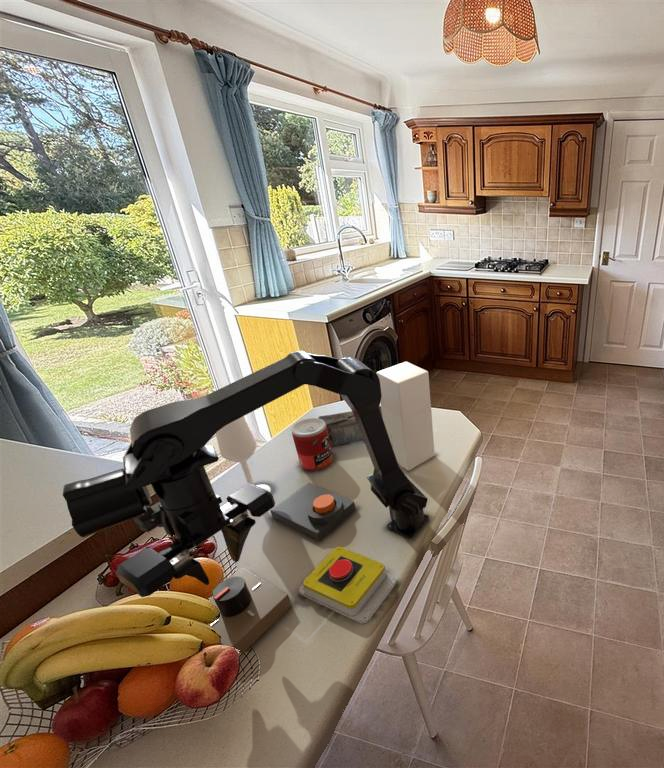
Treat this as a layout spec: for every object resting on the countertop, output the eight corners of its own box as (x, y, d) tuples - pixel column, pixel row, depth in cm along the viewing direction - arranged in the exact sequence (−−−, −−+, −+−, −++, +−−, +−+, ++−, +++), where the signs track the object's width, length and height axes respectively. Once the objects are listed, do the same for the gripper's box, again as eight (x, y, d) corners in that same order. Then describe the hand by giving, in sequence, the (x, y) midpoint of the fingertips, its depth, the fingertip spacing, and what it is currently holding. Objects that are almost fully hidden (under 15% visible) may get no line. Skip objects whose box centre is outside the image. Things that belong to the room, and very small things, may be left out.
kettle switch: (339, 504, 87) (337, 497, 86) (324, 516, 83) (322, 510, 83) (325, 498, 88) (324, 491, 87) (310, 510, 85) (308, 503, 84)
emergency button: (331, 537, 78) (396, 563, 73) (335, 553, 80) (399, 579, 75) (291, 576, 70) (361, 608, 65) (297, 593, 72) (365, 625, 67)
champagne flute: (261, 504, 91) (230, 413, 80) (231, 504, 90) (195, 412, 80) (276, 484, 97) (249, 396, 86) (248, 484, 96) (217, 396, 86)
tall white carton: (387, 457, 107) (375, 371, 96) (414, 442, 113) (406, 360, 102) (408, 471, 102) (398, 383, 91) (435, 455, 108) (429, 371, 97)
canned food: (322, 473, 101) (313, 437, 96) (293, 468, 102) (283, 432, 97) (339, 455, 107) (332, 420, 102) (312, 450, 109) (304, 416, 104)
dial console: (292, 605, 70) (287, 593, 68) (235, 661, 62) (229, 648, 60) (246, 578, 74) (241, 566, 73) (187, 626, 66) (181, 614, 65)
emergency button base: (357, 509, 90) (354, 496, 88) (320, 542, 82) (317, 527, 80) (310, 489, 95) (307, 476, 94) (272, 517, 87) (267, 503, 86)
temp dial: (240, 588, 69) (232, 571, 67) (257, 598, 68) (250, 581, 66) (214, 610, 66) (205, 592, 64) (231, 621, 64) (223, 604, 62)
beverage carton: (321, 433, 116) (317, 413, 113) (390, 421, 122) (388, 402, 119) (320, 448, 109) (316, 428, 106) (393, 435, 116) (391, 416, 113)
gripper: (219, 444, 66) (245, 514, 74) (70, 520, 51) (120, 599, 59) (264, 464, 62) (287, 536, 69) (117, 553, 47) (165, 634, 54)
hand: (221, 571), depth 63 cm, fingers open, 4 cm apart
